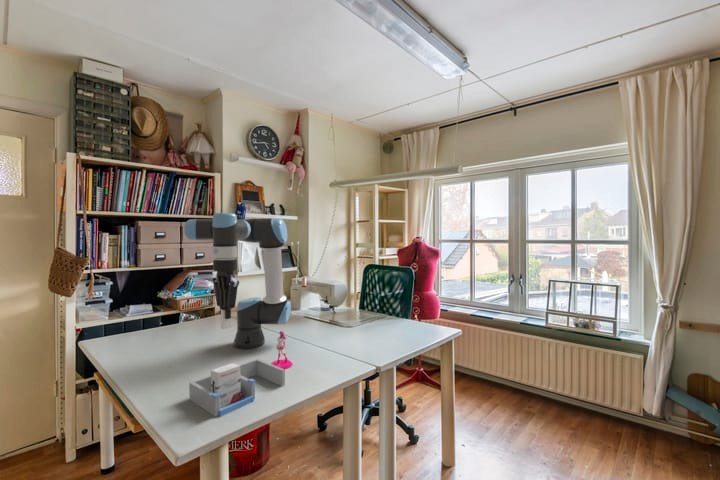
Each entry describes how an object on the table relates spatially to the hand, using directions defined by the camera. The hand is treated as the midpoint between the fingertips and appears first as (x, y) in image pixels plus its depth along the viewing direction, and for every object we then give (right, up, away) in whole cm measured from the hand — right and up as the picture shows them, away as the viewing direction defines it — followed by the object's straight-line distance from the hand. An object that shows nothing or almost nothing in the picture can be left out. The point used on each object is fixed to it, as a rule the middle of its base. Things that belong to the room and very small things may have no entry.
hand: (226, 327), depth 116 cm
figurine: (+12, -25, +32) cm, 42 cm away
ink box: (0, -26, +1) cm, 26 cm away
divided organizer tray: (+2, -25, +7) cm, 26 cm away
